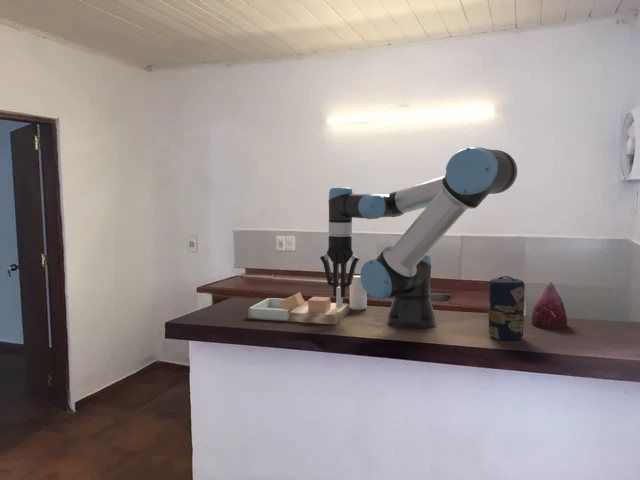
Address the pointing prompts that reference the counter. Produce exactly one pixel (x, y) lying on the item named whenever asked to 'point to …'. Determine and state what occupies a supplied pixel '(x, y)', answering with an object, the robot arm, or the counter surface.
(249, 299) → the counter surface
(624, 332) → the counter surface
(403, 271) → the robot arm
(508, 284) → the canister
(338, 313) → the board
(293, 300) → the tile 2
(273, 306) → the tray
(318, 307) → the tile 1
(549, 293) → the vegetable
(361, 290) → the beverage can
